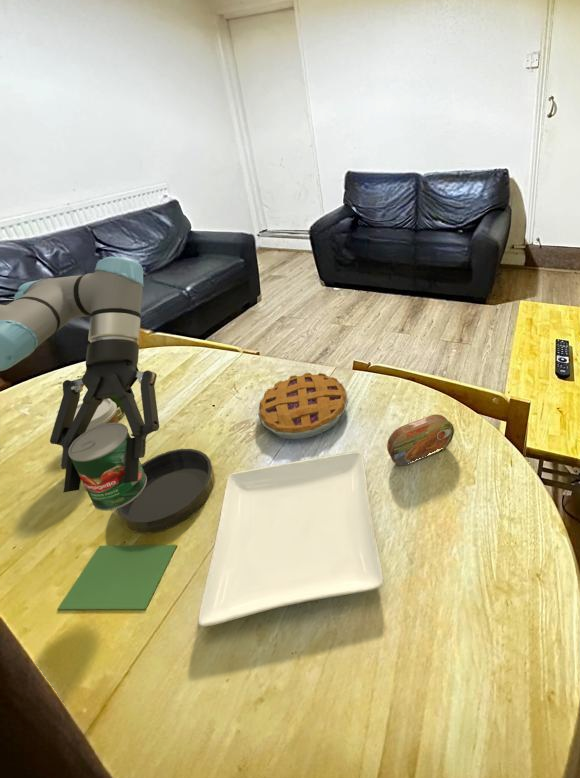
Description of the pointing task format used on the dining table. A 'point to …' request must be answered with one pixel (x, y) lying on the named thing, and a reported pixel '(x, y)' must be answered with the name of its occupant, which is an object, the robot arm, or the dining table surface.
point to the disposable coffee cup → (102, 414)
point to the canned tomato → (105, 466)
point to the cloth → (119, 578)
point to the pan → (169, 491)
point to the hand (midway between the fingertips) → (101, 486)
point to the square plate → (291, 538)
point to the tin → (419, 439)
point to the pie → (303, 406)
